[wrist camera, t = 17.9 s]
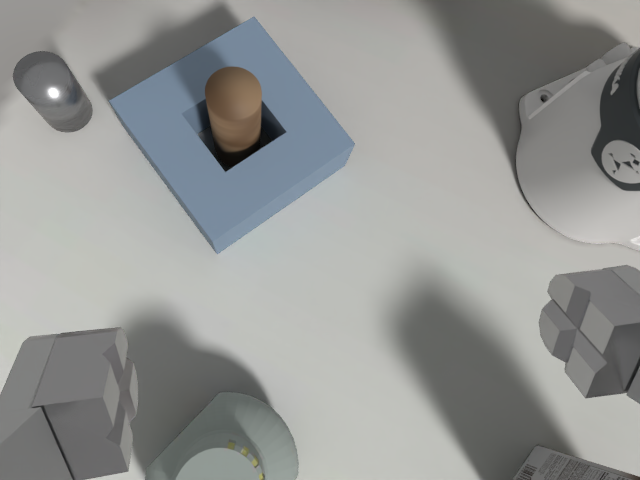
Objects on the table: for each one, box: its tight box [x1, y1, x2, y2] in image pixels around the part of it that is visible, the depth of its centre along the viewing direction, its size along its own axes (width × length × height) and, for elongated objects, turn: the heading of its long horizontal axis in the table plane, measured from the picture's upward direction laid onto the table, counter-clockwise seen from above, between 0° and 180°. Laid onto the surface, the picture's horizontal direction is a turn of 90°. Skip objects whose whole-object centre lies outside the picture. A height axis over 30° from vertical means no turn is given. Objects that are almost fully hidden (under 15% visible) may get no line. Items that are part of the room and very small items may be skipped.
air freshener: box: [145, 392, 299, 480], centre depth 36 cm, size 11×8×10 cm
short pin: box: [13, 51, 92, 132], centre depth 43 cm, size 4×4×6 cm
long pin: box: [205, 66, 262, 167], centre depth 42 cm, size 4×4×10 cm
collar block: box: [109, 17, 355, 254], centre depth 44 cm, size 14×14×5 cm
